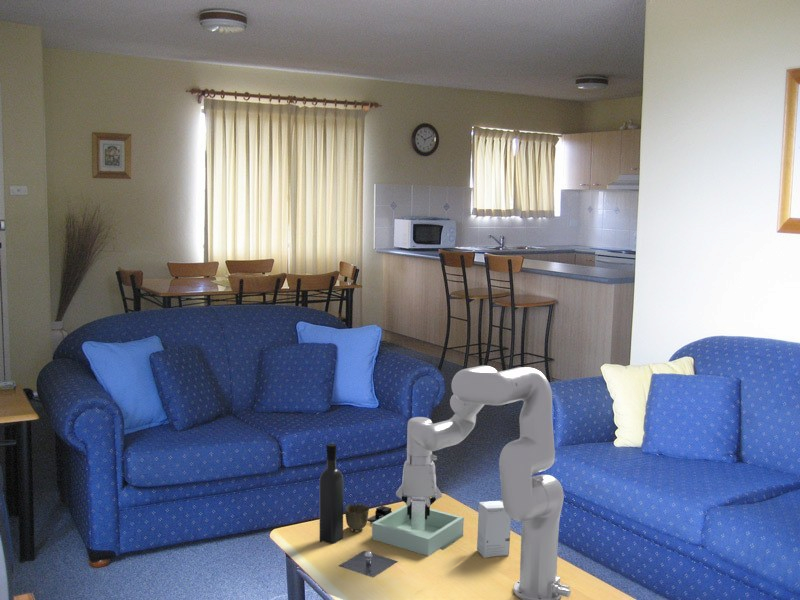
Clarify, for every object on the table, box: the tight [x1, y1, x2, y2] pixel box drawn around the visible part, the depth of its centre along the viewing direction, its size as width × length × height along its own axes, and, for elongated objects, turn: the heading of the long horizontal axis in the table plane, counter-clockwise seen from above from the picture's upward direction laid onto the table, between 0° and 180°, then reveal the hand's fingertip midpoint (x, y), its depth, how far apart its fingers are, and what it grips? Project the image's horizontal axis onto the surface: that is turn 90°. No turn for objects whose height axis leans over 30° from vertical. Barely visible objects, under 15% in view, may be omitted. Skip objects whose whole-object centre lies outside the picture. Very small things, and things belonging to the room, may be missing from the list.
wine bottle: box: [318, 443, 344, 544], centre depth 245 cm, size 6×6×30 cm
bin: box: [371, 504, 465, 557], centre depth 249 cm, size 20×20×6 cm
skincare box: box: [476, 500, 512, 559], centre depth 240 cm, size 8×6×15 cm
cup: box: [344, 503, 370, 533], centre depth 253 cm, size 8×7×8 cm
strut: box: [411, 497, 426, 530], centre depth 248 cm, size 4×4×9 cm
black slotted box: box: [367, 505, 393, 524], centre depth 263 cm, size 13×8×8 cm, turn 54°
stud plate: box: [338, 550, 399, 578], centre depth 230 cm, size 12×12×5 cm
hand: (418, 516), depth 248 cm, fingers closed on strut, 4 cm apart
